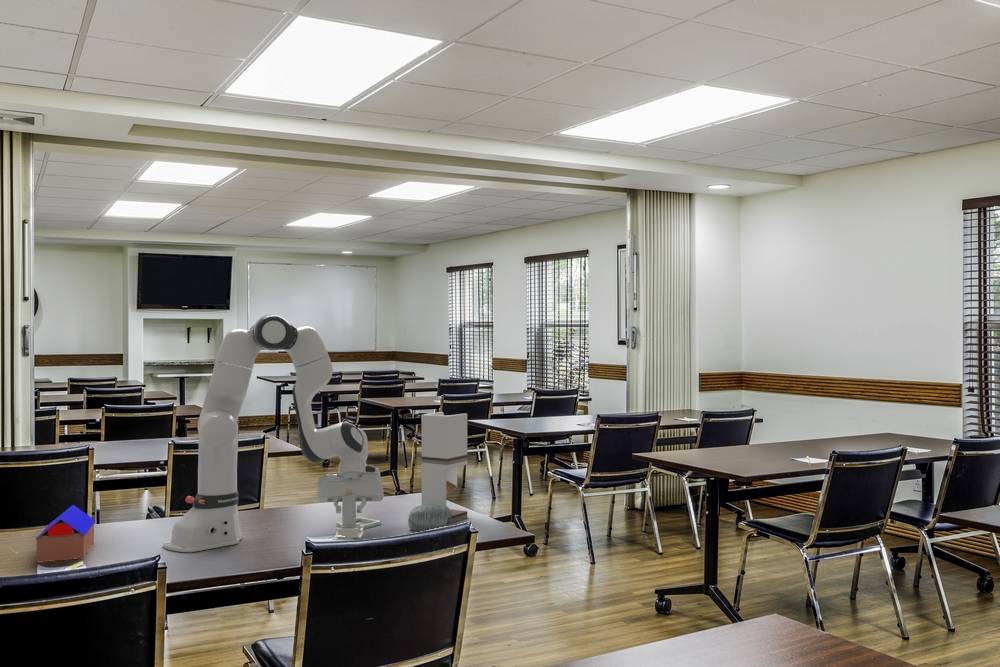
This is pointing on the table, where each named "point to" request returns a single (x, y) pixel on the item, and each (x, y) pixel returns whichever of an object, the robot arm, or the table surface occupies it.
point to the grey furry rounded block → (429, 517)
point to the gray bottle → (349, 509)
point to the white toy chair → (350, 531)
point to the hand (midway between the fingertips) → (348, 512)
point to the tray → (370, 521)
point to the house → (66, 536)
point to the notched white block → (442, 457)
